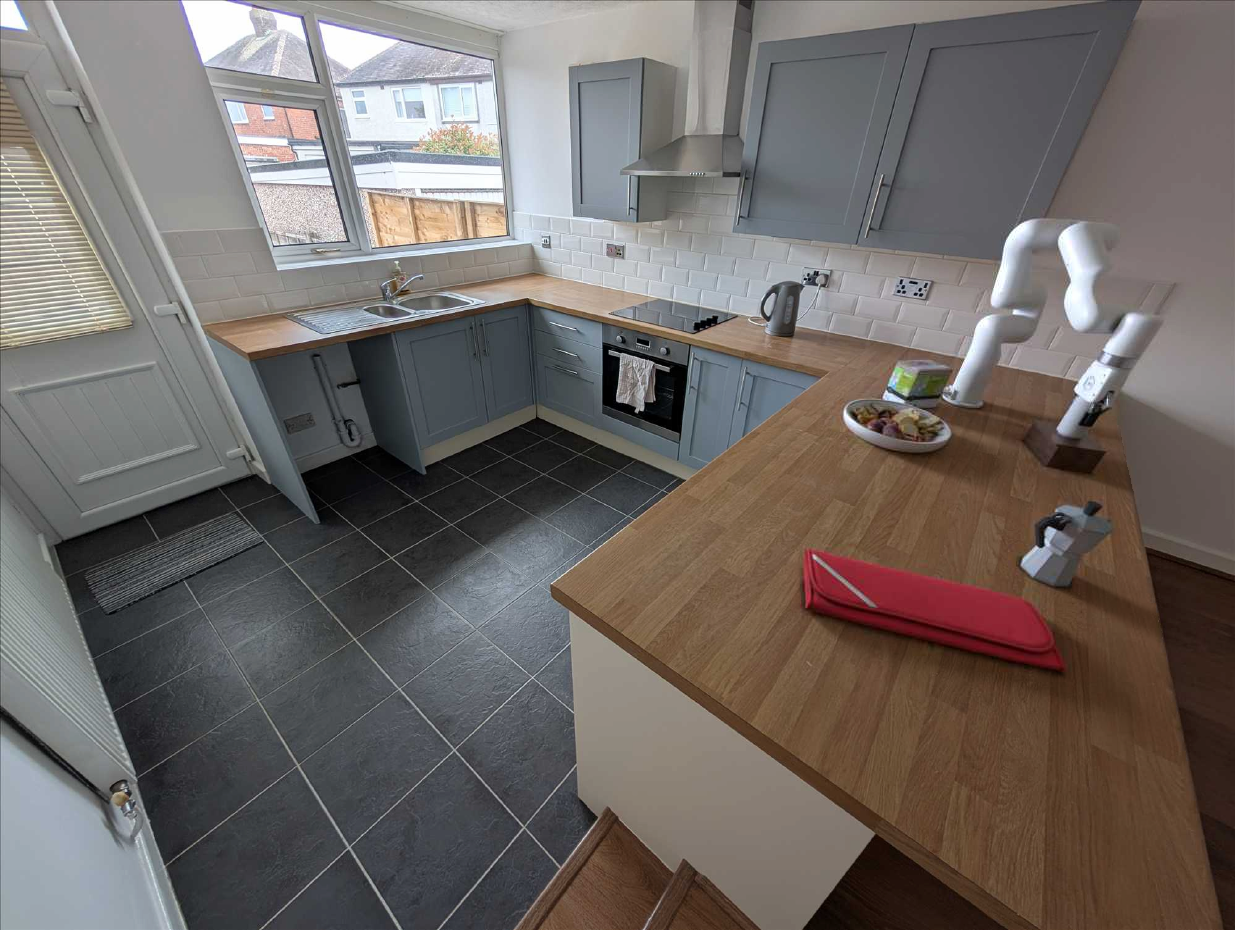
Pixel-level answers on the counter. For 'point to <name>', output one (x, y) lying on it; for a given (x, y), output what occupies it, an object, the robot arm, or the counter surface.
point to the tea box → (917, 383)
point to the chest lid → (1067, 438)
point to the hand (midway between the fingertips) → (1078, 419)
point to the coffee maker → (1065, 542)
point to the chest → (1061, 453)
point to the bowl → (896, 425)
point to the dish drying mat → (929, 609)
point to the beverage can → (1075, 419)
